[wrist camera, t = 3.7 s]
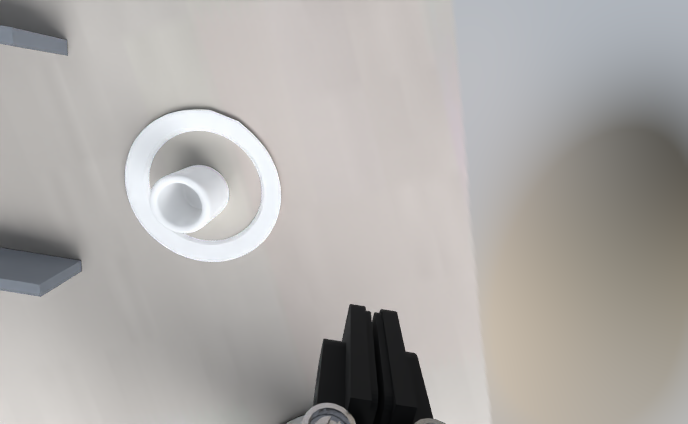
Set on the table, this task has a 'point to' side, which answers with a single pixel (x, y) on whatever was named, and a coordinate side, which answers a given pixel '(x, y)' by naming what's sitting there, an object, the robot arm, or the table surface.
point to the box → (19, 266)
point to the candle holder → (197, 189)
